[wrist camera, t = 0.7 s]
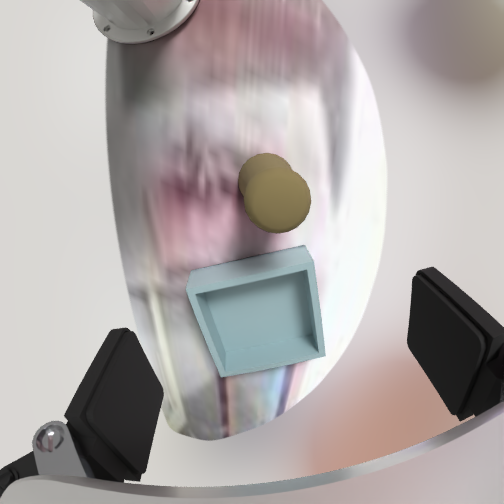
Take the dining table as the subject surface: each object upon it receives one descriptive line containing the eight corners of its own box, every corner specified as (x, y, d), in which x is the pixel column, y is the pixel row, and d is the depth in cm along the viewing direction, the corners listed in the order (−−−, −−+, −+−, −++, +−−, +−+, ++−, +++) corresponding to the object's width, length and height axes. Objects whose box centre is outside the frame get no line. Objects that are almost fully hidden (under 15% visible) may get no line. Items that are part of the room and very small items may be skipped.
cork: (272, 218, 33) (287, 259, 23) (226, 187, 32) (221, 214, 22) (305, 175, 31) (336, 197, 21) (260, 141, 30) (271, 146, 20)
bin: (191, 270, 35) (185, 289, 31) (304, 244, 35) (313, 260, 30) (222, 354, 40) (221, 377, 36) (317, 334, 40) (325, 355, 36)
